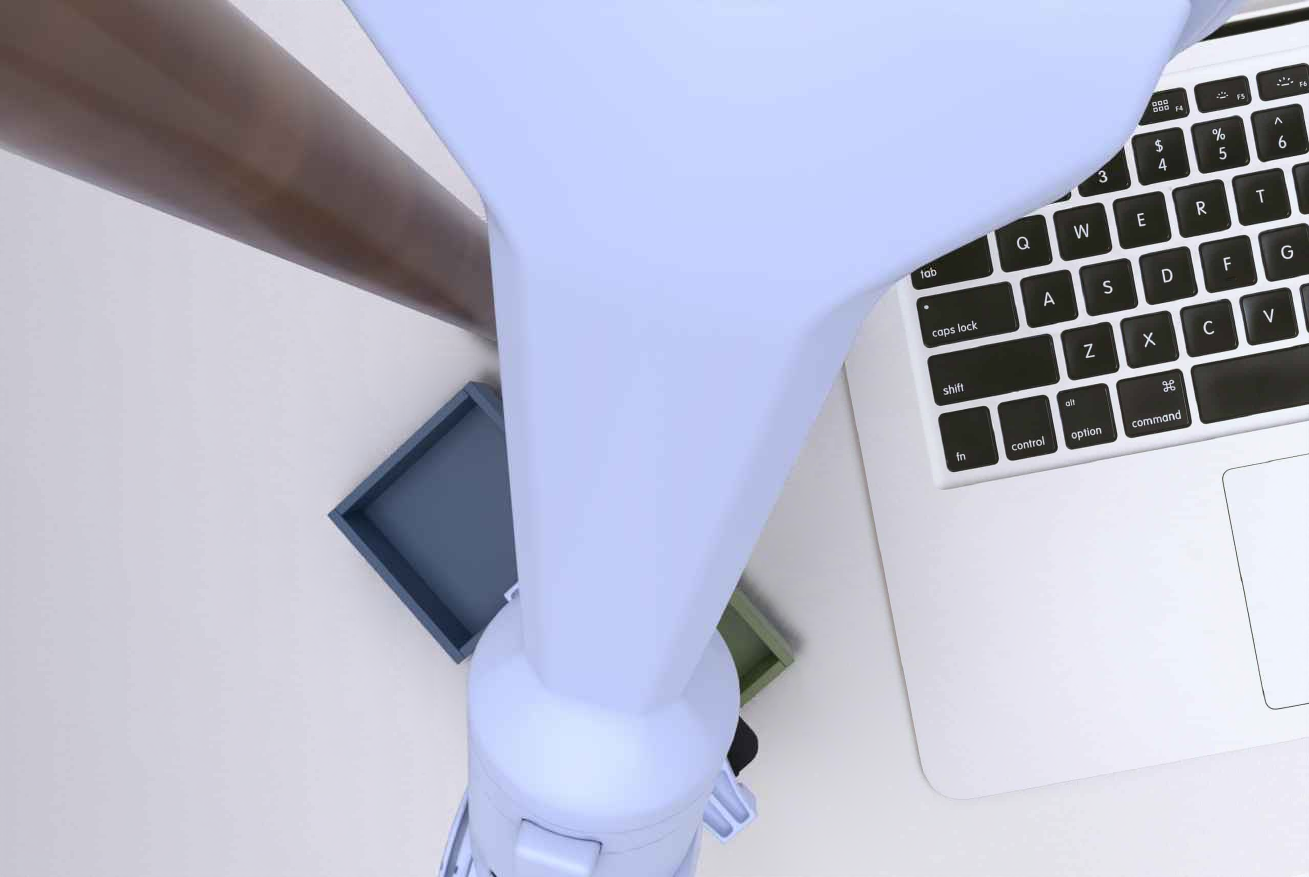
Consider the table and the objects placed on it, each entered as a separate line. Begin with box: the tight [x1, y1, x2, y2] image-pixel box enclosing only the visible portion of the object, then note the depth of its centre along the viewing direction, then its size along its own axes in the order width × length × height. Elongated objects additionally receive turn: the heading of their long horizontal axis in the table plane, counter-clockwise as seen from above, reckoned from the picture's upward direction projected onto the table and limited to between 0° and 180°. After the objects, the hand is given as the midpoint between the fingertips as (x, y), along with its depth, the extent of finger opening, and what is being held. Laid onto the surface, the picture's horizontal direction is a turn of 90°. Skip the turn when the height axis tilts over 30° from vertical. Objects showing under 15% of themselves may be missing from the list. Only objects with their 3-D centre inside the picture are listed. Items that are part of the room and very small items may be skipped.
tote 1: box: [326, 380, 518, 666], centre depth 49 cm, size 11×11×4 cm
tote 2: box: [716, 584, 795, 710], centre depth 49 cm, size 11×11×4 cm
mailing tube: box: [0, 0, 498, 343], centre depth 27 cm, size 5×5×48 cm
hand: (648, 650), depth 47 cm, fingers open, 7 cm apart
